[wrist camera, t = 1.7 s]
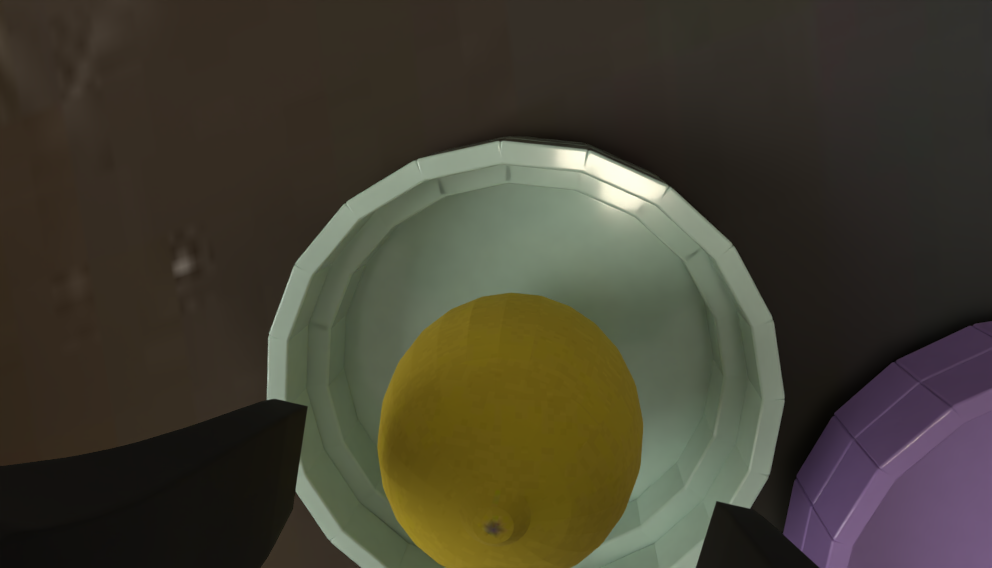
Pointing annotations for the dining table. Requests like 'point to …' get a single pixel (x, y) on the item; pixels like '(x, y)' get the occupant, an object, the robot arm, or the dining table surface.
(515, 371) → the lemon
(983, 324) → the lavender bowl
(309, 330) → the celadon bowl
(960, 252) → the dining table surface
